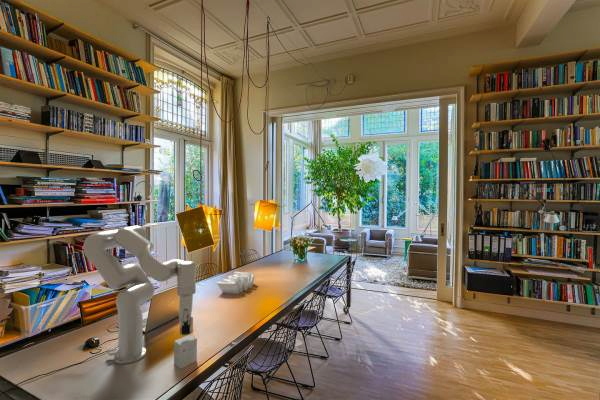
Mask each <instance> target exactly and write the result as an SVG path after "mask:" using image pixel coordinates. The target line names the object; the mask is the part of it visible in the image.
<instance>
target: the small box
mask: <svg viewBox="0 0 600 400" xmlns="http://www.w3.org/2000/svg"><path fill="white" fill-rule="evenodd" d="M197 344H198V338H197V337H195V336H194V335H193V334H192V333H191V334H189V335H184V336H183V337H180V338H178V339H175V340H174V341H173V364H174V365H175V366H176V367H177V368H178V369H180V370H181V369H184V368H185V367H187V366H190V365H191V364H193V363H195V362H197V360H198V351H197V350H198V345H197Z"/></svg>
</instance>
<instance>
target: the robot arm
mask: <svg viewBox="0 0 600 400" xmlns="http://www.w3.org/2000/svg"><path fill="white" fill-rule="evenodd" d="M147 233H148V232H147V230H146V229H145V228H144V227H143V226H140V225H133V226H125V227H121V228H117V229H110V230H103V231H99V232H98V231H97V232H95V233H93V234H89V235H88V236H87V237H86V238H85V240H84V243H83V246H82V247H83V254H84V255H85V257H86V259H87V260H88V261H89V262H90V263H91V264H92V265H93V266H94V268H95V269H96V270H97V272H98V273H99V275H100V276H101V278H102V279H103V281H104V282H105V284H107V286H108V287H109V289H112V290H120V289H122V288H123V290H121V291H120V292H119V293H118V294H117V296H116V298H115V304H116V309H117V315H118V316H117V317H118V318H117V320H118V323H117V324H118V325H117V326H118V327H117V328H118V330H117V331H118V336H117V337H118V343H117V346H118V347H115V348H108V349H107V350H106V351H107V352H106V353H107V354H108V356H109V357H110V356H114V357H113V361H114V363H116V364H120V365H125V364H132V363H134V362H138V361H140V360H141V359H143V358H144V357H145V356H146V355H147V349H146V348H145V347H143V337H144V336H143V333H144V332H143V331H144V329H143V326H144V325H143V323H144V322H143V319H144V318H143V317H144V316H143V311H142V310H141V308H140V306H141V305H143V304H144V303H146V302H147V301H149V300H151V299H152V298H153V296H154V294H155V287H154V285H153V283H152V281H151V280H150V279H149V278H148V276H149V277H150V278H152V279H153V280H155V281H157V282H166V281H169V280H170V279H172V278H174V277H176V278H177V280H176V281H177V282H176V284H177V285H176V287H177V288H176V289H177V290H176V293H177V294H176V295H177V296H179V302H178V303H179V304H178V305H179V306H178V319H179V320H180V319H182V334H189V333H190V324H189V318H190V317H192V314H193V313H192V311H193V296H194V294H196V292H197V291H196V286H197V283H196V282H197V277H196V276H197V275H196V273H197V272H196V271H197V268H196V267H197V266H196V264H197V263H196V262H195V261H194V260H181V259H177V258H172V259H169V260H166V261H164V262H160V261H158V260H157V259H155V258H154V257H153V256H152V252H153V250H154V244H153V243H152V242H151V241H150V240H149V239H147V235H148V234H147ZM119 247H121V248H123V249H124V251H125V250H126V251H127V252H128V253H129V254H131V255H132V256H134V257H135V258H136V259H137V260H138V264H139V265H137V264H135V263H127V264H124V265H123V264H122V263H120V261H119V260H118V258H117V257H116V256H114V254H112V253H111V252H108V251H107V250H111V249H115V248H119ZM127 286H128V287H127ZM124 287H126V288H124ZM187 316H188V317H187ZM182 317H183V318H182ZM187 319H188V320H187ZM189 335H190V334H189Z"/></svg>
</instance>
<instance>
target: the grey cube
mask: <svg viewBox="0 0 600 400" xmlns="http://www.w3.org/2000/svg"><path fill="white" fill-rule="evenodd" d="M187 317H188V316H187ZM182 318H183V317H182ZM187 320H188V319H187ZM189 324H190V333H189V334H182V319H179V335H181V336H188V335H190V334H191V335H192V334H193V332H194V317H193V316H191V317H190V318H189Z"/></svg>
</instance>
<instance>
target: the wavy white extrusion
mask: <svg viewBox="0 0 600 400" xmlns="http://www.w3.org/2000/svg"><path fill="white" fill-rule="evenodd" d="M254 281H255V275H254V274H253V273H250V272H245V271H244V272H241V271H234V272H233V275H228V278H225V279H224V278H223V279H222V281H217V282H216V285H217V287H219V289H220V290H221V292H222V294H227V295H240V293H241V294H242V293H243V292H245V291H247V290H249V289H250V287H251V288H252V287H253V286H254Z"/></svg>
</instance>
